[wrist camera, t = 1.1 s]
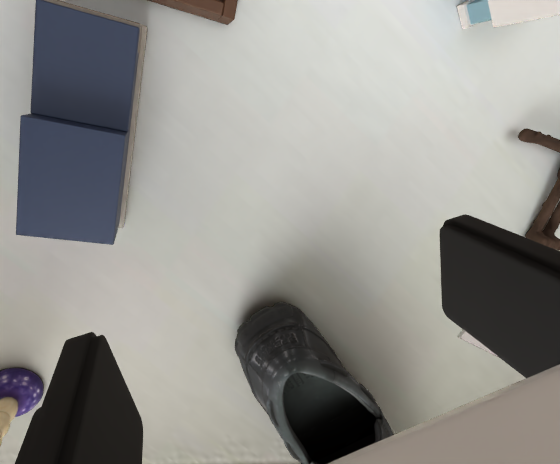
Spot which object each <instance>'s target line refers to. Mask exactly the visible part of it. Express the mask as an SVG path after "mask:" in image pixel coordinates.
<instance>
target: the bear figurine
mask: <svg viewBox="0 0 560 464" xmlns="http://www.w3.org/2000/svg"><path fill="white" fill-rule="evenodd" d="M518 138H519V139H520V140H521V141H523V142H529V143H536V144H539V145H542V146H545V147H547V148H550V149H552V150H555V151H557V152H559V153H560V140H559V139H556V138H553V137H551V136H550V135H544V134H542V133H541V132H536V131H533V130H530V129H523V130H522V131H521V132H520V133H519V135H518ZM557 176H558V180H557V181H556V183H555V185H554V187H553V189H552V191H551V193H550V194H549V196H548V198H547V200H546V201H545V202H544V203H543V205H542V206H543V207H542V209H541V211H540V213H539V214H538V216H537V218H536V219H535V220H534V222H533V223H534V224H533V226H532V228H531V229H530V230H529V231H528V232H527V233H526V235H525V237H526V238H528V239H530V240H533V241H535V242H538V243H540V244H543V245H545V246H548V247H550V248H553V249H556V250H560V239H558V238H557V237H556V236H555V235H554V233H555V231H556V229H557V228H558V226H559V224H560V201H559V199H560V169H559V171H558V175H557ZM558 201H559V203H558ZM557 203H558V205H557V207H556V208H555V206H556V204H557ZM554 208H555V210H554ZM553 211H554V212H553ZM551 215H552V216H551ZM550 216H551V217H550ZM549 217H550V219H549ZM548 219H549V221H548ZM547 221H548V223H547ZM546 223H547V225H546ZM545 225H546V226H545ZM544 226H545V228H544ZM543 228H544V230H543Z"/></svg>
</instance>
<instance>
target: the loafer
mask: <svg viewBox="0 0 560 464" xmlns="http://www.w3.org/2000/svg"><path fill="white" fill-rule="evenodd" d="M237 332H238V334H237V338H236V341H235V350H236V353H237V355H238V357H239V359H240V362H241V365H242V368H243V371H244V373H245V376H246V378H247V380H248V382H249V384H250V387H251V389H252V392H253V394H254V396H255V398H256V399H257V401H258V402H259V403H260V404H261V406H262V407H263V409H264V410H265V411H266V412H267V414H268V415H269V417H270V419H271V421H272V423H273V424H274V426H275V428H276V429H277V431H278V433H279V435H280V436H281V438H282V439H283V440H284V443H285V446H286V448H287V449H288V451H289V452H290V454H291V455H292V456H293V458H295V459H296V460H298V461H299V462H300V463H301V464H328V463H330V462H332V461H335V460H337V459H339V458H342V457H344V456H346V455H348V454H351V453H353V452H355V451H358V450H360V449H362V448H365V447H367V446H369V445H372V444H374V443H376V442H378V441H381V440H383V439H385V438H388V437H390V436H392V435H393V433H392V430H391V428H390V426H389V424H388V422H387V420H386V419H385V417H384V416H383V413H382V411H381V409H380V407H379V406H378V405H377V404H376V402H375V400H374V398H373V396H372V395H371V394H370V392H369V391H368V390H367V389H366V388H365V387H364V386H362V385H361V384H358V382H357V381H356V380H355V379H354V378H353V377H352V376H351V375H350V374H349V373H348V372H347V371H346V370H345V368H344V367H343V365H342V364H341V362H340V361H339V359H338V358H337V356H336V354H335V352H334V351H333V349H332V348H331V347H330V346H329V344H328V343H327V341H326V340H325V339H324V337H323V336H322V335H321V334H320V332H319V331H318V330H317V328H316V327H315V326H314V325H313V323H312V322H311V321H310V320H309V319H308V318H307V317H306V316H305V314H304V313H303V312H302V311H301V310H300V309H298V308H297V307H295V306H292V305H290V304H287V303H285V302H280V303H276V304H274V306H273V307H265V308H263V309H261V310H259V311H258V312H256V313H255V314H253V315H252V316H251V317H250V320H249V321H248V322H244V323H243V324H242V325H241V326H240V328H239V329H238V331H237Z"/></svg>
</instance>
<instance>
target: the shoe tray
mask: <svg viewBox="0 0 560 464" xmlns="http://www.w3.org/2000/svg"><path fill="white" fill-rule="evenodd" d="M148 1H151V2H155V3H158V4H161V5H165V6H168V7H171V8H174V9H178V10H181V11H184V12H187V13H191V14H194V15H197V16H201V17H204V18H207V19H210V20H214V21H217V22H220V23H224V24H227V25H228V24H229V23H231V22H232V21H233V20H234V18H235V12H236V6H237V1H238V0H148Z"/></svg>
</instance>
